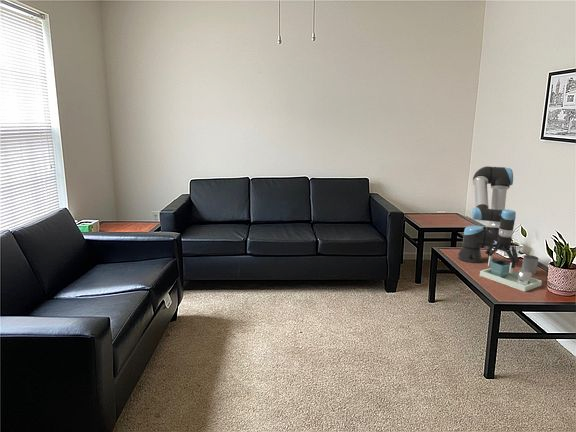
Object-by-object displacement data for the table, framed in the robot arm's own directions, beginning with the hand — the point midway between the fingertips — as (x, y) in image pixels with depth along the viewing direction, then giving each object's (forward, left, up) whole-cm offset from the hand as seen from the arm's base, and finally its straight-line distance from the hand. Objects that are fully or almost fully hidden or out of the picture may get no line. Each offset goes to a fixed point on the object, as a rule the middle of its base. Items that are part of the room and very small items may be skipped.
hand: (499, 269), depth 268 cm
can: (+15, 0, -5) cm, 16 cm away
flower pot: (0, 0, -5) cm, 5 cm away
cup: (+3, +29, -6) cm, 30 cm away
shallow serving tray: (+7, 0, -6) cm, 9 cm away
